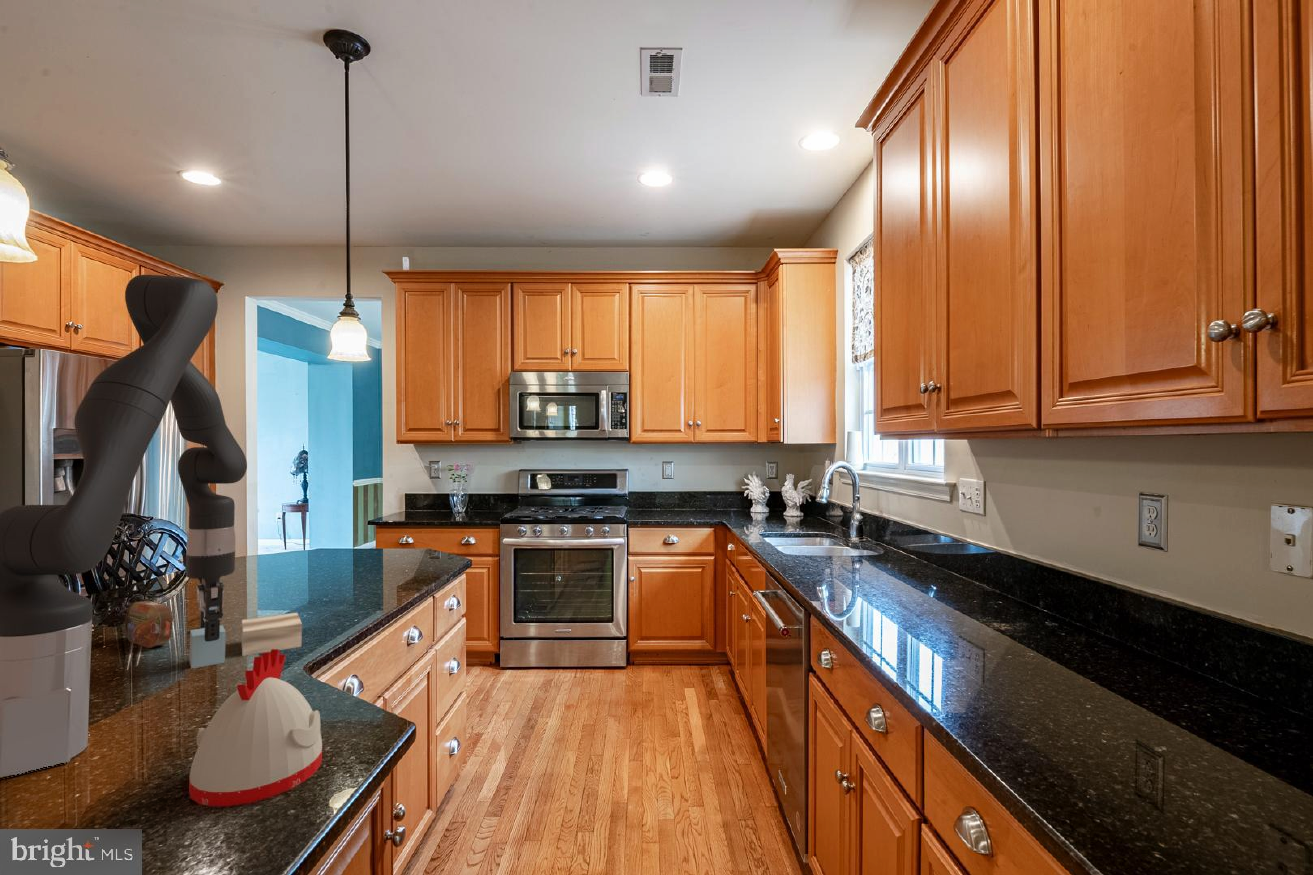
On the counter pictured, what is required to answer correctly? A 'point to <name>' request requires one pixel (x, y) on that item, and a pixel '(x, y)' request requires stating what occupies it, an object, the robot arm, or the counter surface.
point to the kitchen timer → (256, 740)
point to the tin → (148, 624)
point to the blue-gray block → (206, 649)
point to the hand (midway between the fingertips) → (209, 634)
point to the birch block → (271, 633)
